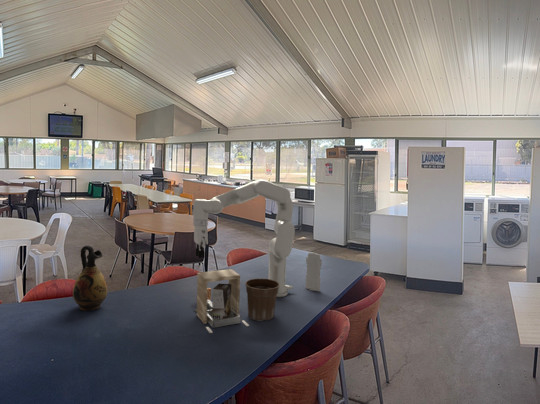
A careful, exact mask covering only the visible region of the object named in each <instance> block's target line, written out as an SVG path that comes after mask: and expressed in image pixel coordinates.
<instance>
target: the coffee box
mask: <svg viewBox="0 0 540 404" xmlns="http://www.w3.org/2000/svg"><path fill="white" fill-rule="evenodd" d="M211 302H212V316H211V317H212V319H213V320H219V319H225V318H230V317H232V316H231V284H229V283H217V285H216V286H214V287H213V288H212V301H211Z"/></svg>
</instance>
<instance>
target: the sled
mask: <svg viewBox="0 0 540 404" xmlns="http://www.w3.org/2000/svg"><path fill="white" fill-rule="evenodd" d="M211 300H212V288H211V287H207V307H209V308H210V309H211V310H207V323H208V324H209V325H210V326H211V328H212V329H214V328H220V327H225V326H231V325H236V324H241V323H242V319H241V315H240V314H239V315H238V314H237V313H236V312H235V311H234V310H233V309H232V308H231V317H230V318H225V319H219V320H213V319H212V301H211Z"/></svg>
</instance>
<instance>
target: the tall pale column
mask: <svg viewBox="0 0 540 404" xmlns="http://www.w3.org/2000/svg"><path fill="white" fill-rule="evenodd" d="M322 263H323V261H322V259H321V255H320V254H319V253H316V252H308V253H307V256H306V257H305V264H306V275H305V289H307V290H308V291H314V292H320V291H321V269H322Z"/></svg>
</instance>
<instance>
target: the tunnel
mask: <svg viewBox="0 0 540 404" xmlns="http://www.w3.org/2000/svg"><path fill="white" fill-rule="evenodd" d="M196 278H197V280H196V281H197V282H196V283H197V284H196V286H197V287H196V288H197V289H196V292H197V293H196V295H197V296H196V309H197V312H196V316H197V317H198V318H199V320H200V321H201V322H202V324H204V325H206V324H207V323H208V322H207V307H208V306H207V288H208V283H214V282H221V281H228V284H231V308H232V309H233V310H234V311H235V312H236V313H237V314H238V315H240V300H241V299H240V297H241V295H240V292H241V291H240V290H241V275H240V274H239V273H237V272H236V271H235V270H233V269H232V268H231V269H230V268H229V269H221V270H220V269H219V270H212V271H211V270H210V271H203V272H197V276H196Z"/></svg>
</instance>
